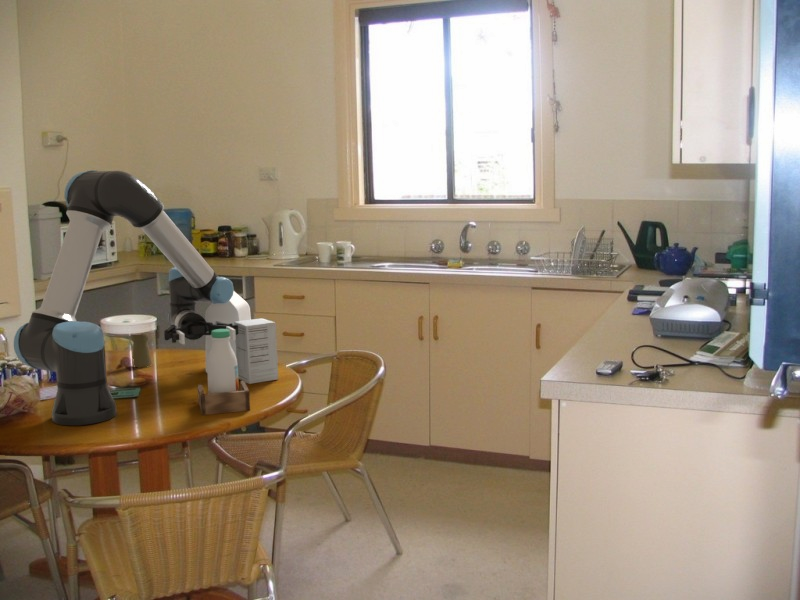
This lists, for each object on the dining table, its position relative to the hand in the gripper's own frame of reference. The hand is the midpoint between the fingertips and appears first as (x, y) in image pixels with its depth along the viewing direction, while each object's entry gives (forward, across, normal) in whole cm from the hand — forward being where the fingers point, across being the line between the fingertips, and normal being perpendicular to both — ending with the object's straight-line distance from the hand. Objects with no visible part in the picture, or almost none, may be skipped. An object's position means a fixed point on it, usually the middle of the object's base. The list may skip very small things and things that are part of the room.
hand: (209, 337), depth 237 cm
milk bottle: (+10, -1, -17) cm, 20 cm away
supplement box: (-13, -17, -16) cm, 27 cm away
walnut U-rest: (+10, -1, -16) cm, 19 cm away
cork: (-47, +10, -16) cm, 51 cm away
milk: (-30, -14, -16) cm, 36 cm away
